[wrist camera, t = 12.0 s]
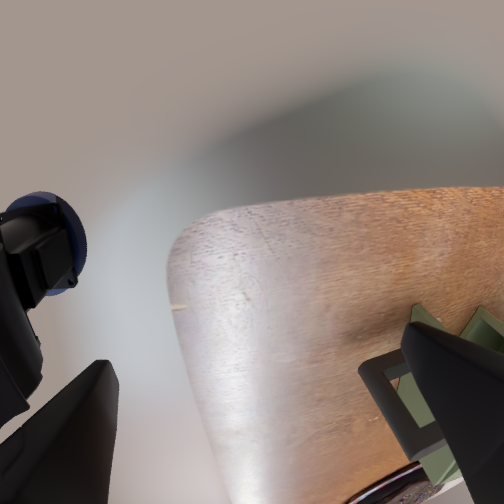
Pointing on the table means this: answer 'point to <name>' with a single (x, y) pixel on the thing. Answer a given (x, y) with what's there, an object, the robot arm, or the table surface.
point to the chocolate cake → (400, 488)
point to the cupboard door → (409, 407)
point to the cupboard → (487, 335)
